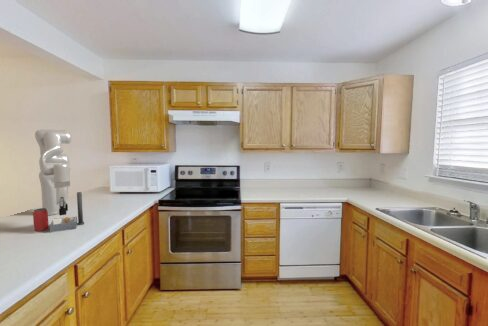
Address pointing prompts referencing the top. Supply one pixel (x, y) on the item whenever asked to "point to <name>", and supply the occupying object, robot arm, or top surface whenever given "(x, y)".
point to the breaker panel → (64, 224)
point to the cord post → (80, 208)
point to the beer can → (40, 219)
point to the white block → (57, 220)
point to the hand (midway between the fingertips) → (63, 212)
